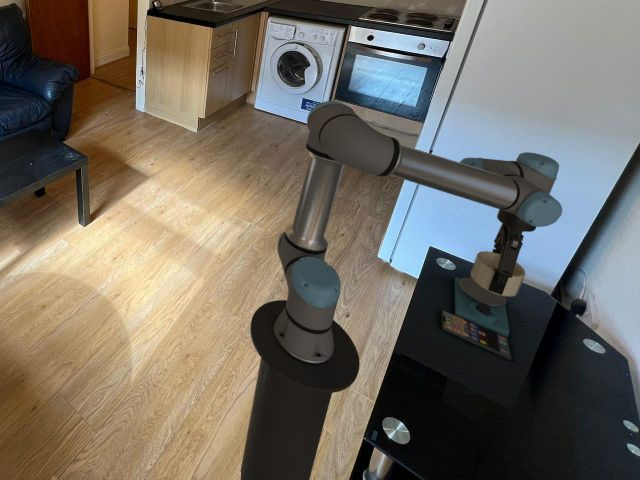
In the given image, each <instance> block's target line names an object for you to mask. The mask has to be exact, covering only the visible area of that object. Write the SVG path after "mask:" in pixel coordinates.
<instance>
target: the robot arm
mask: <svg viewBox="0 0 640 480" xmlns="http://www.w3.org/2000/svg"><path fill="white" fill-rule="evenodd" d="M306 124H307V125H306V126H307V129H308V130H309V132H308V136H307V140H306V141H307V142H306V145H305V149H306V151H307V152H308V154H309V158H308V160H307V161H308V162H307V166H306V170H305V174H304V178H303V182H302V185H301V190H300V194H299V198H298V202H297V206H296V210H295V214H294V218H293V221H292V222H293V223H292V224H290V225H288V226H287V227H286V228H285V231H282V233H281V234H280V236H279V237H278V240H277V255H278V257H279V260H280V263H281V266H282V270H283V274H284V277H285V282H286V285H287V298H286V300H287V302H286V307H285V309H284V310H283V312H282V313H281V314H280V315H279V316H273V318H277V320H276V322H275V326H274V335H275V339H276V341H277V343H278V344H279V346H280V347H281V348H282V350H283V351H284V352H285V353H287V354H288V355H289V356H290V357H292V358H293V359H295V360H297V361H299V362H302V363H304V364H308V365H323V364H325V363H327V362H328V361H330V359H331V358H332V356H333V352H334V340H333V337H334V335H332V334H333V333H332V329H331V326H332V322H333V320H334V318H335V314H336V311H337V306H338V302H339V300H340V298H341V297H340V296H341V286H342V283H341V282H342V281H341V278H340V276H339V273H338V272H337V270H336V269H335V268H334V267H333V266H332V265H329V264H328V262H327V261H325V257H326V254H327V250H328V246H329V241H328V238H327V237H326V236H325V234H326V231H327V227H328V224H329V220H330V216H331V213H332V209H333V205H334V203H335V199H336V195H337V192H338V188H339V184H340V180H341V177H342V174H343V170H344V166H347V167H349V168H352V169H355V170H358V171H362V172H364V173H367V174H370V175H374V176H377V177H380V178H387V177H389V176H392V177H394V178H398V179H401V180H404V181H408V182H410V183H414V184H417V185H420V186H423V187H427V188H430V189H433V190H437V191H440V192H442V193H446V194H449V195H452V196H456V197H459V198H462V199H465V200H469V201H471V202H475V203H478V204H482V205H484V206H488V207H491V208H493V209H498V212H497V215H496V219H497V220H498V221H499V222H500V223H501V225H500V227H499V229H498V232H497V234H496V236H495V238H494V239H493V243H494V244H493V249H492V251H491V252H494V253H497V254H500V255H501V256H500V260H499V264H498V268H497V269H494V268H493V271H495V272H494V275H493V278H492V280H491V283H490V286H489V288H488V289H489V291H492V292H494V293H497V294H500V295H502V294H503V291H504V289H505V286H506V284H507V281H508V278H512V277H513V272H514V268H515V265H516V263H518V259H519V255H520V251H521V249H522V246H523V245H524V244H523V241H524V237H525V235H524V234H523V233H524V232H527V233H531V232H534V231H536V229H537V228H542V227H543V228H544V227H549V226H551V225H553V224H556V222H557V221H558V220H559V219H560V217H562V214H563V206H562V204H561V202H560V201H559V200H558V199H556V198H555V197H554V196H552V195H551V191H552V189H553V187H554V184H555V182H556V180H557V178H558V177H557V176H558V173H559V169H560V164H559V161H556V159H554V158H552V157H549V156H547V155H544V154H540V153H537V152H536V153H535V152H527V151H525V152H521V153H518V156H517V158H516V159H515V160H503V159H494V158H486V157H485V158H484V157H464V158H463V159H461V160H460V161H456V160H453V159H449V158H446V157H443V156H440V155H436V154H434V153H430V152H426V151H423V150H420V149H417V148H413V147H411V146H407V145H404V144H401V142H400V140H399V139H397V138H396V137H393V136H389V135H387V134H385V133H382V132H381V131H378V130H377V129H375V128H374V127H372V126H371V125H370V124H368V123H367V122H366V121H364V120H363V119H362V118H361V117H360V116H359V115H358V114H357V113H356V111H354V109H353V108H352V107H350V106H349V105H347V104H345V103H344V102H341V101H337V100H327V101H323V102H319V103H318V104H316V105H314V107H312V109H311V110H310V111H309V112H308V115H307V119H306Z"/></svg>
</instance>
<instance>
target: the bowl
mask: <svg viewBox="0 0 640 480" xmlns="http://www.w3.org/2000/svg"><path fill="white" fill-rule="evenodd" d="M500 256H501V255H500V254H497V253H494V252H492V251H488V250H486V251H479V252H478V253H477V254H476V256H475V259H474V261H473V265H472V267H471V270H470V278H473V280H474V281H475V282H476V283H477V284H478V285H480V286H481V287H482V288H484V289H486V290H488V291H489V289H488V288H489V286H490V283H491V280H492V278H493V275H494V272H495V271H493V268H494V269H497V268H498V264H499V260H500ZM525 277H526V269H525V268H524V267H523V266H522V265H521V264H519V263H518V262H516V265H515V268H514V272H513V277H512V278H508V281H507V284H506V286H505V289H504V291H503V294H502V295H501V296H505V297H516V296H517V295H518V294H519V291H520V289H521V287H522V284H523V282H524V279H525ZM490 292H492V291H490ZM492 293H494V292H492ZM494 294H497V293H494ZM498 295H500V294H498Z"/></svg>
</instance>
